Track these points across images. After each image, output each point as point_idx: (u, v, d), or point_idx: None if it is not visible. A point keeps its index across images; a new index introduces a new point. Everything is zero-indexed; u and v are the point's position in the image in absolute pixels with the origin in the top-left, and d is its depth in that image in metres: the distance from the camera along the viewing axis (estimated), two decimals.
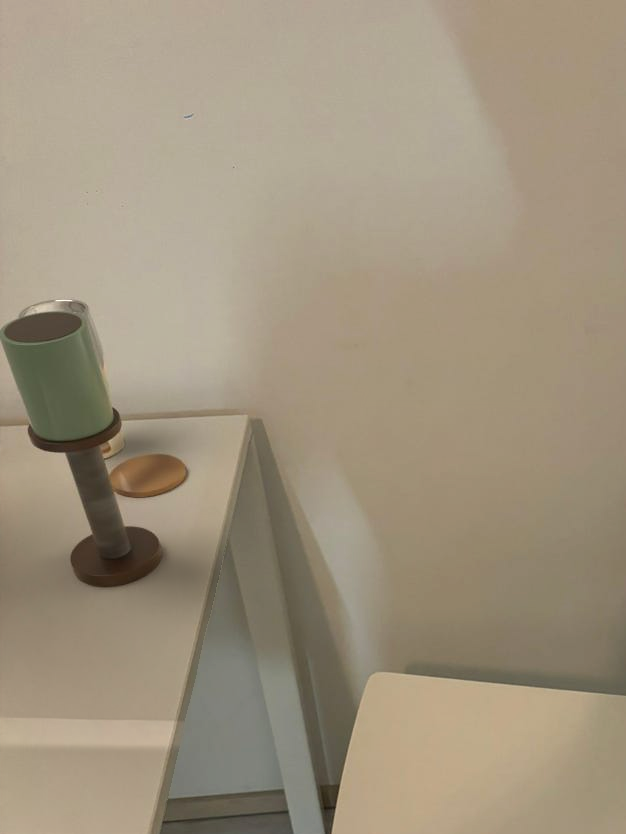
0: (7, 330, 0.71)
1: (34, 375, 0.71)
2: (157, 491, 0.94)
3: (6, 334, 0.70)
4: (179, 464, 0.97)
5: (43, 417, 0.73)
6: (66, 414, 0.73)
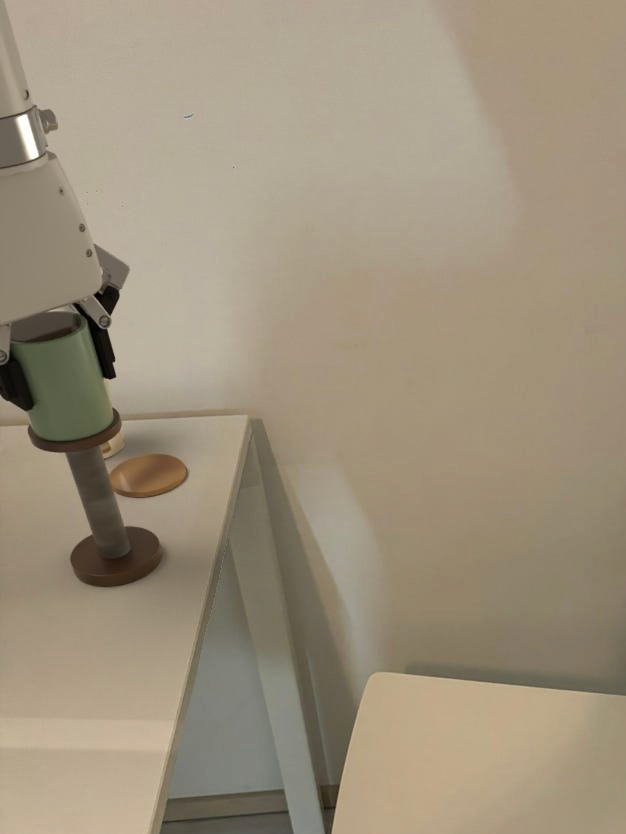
0: None
1: (34, 375, 0.71)
2: (157, 491, 0.94)
3: None
4: (179, 464, 0.97)
5: (43, 417, 0.73)
6: (66, 414, 0.73)
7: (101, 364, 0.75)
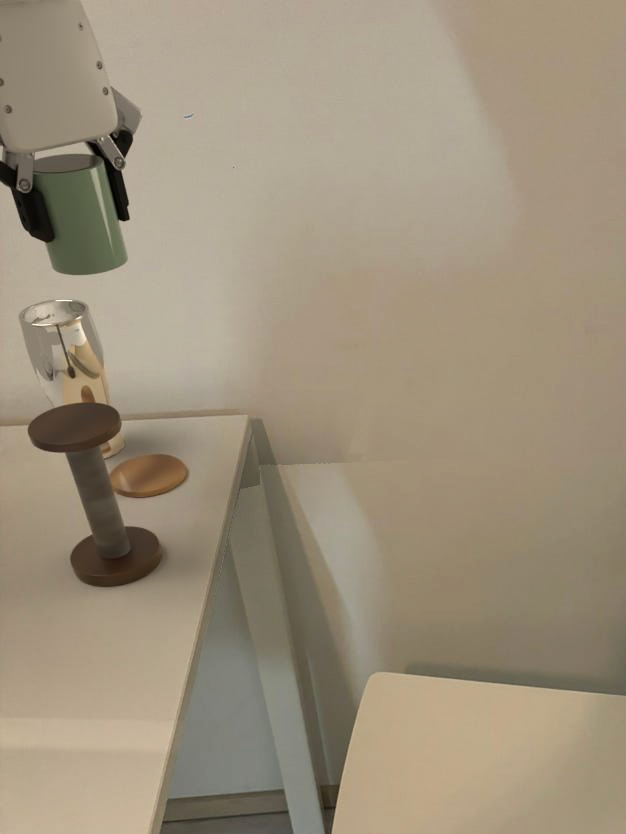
0: None
1: (55, 206, 0.76)
2: (157, 491, 0.94)
3: None
4: (179, 464, 0.97)
5: (63, 250, 0.79)
6: (84, 247, 0.79)
7: (116, 205, 0.81)
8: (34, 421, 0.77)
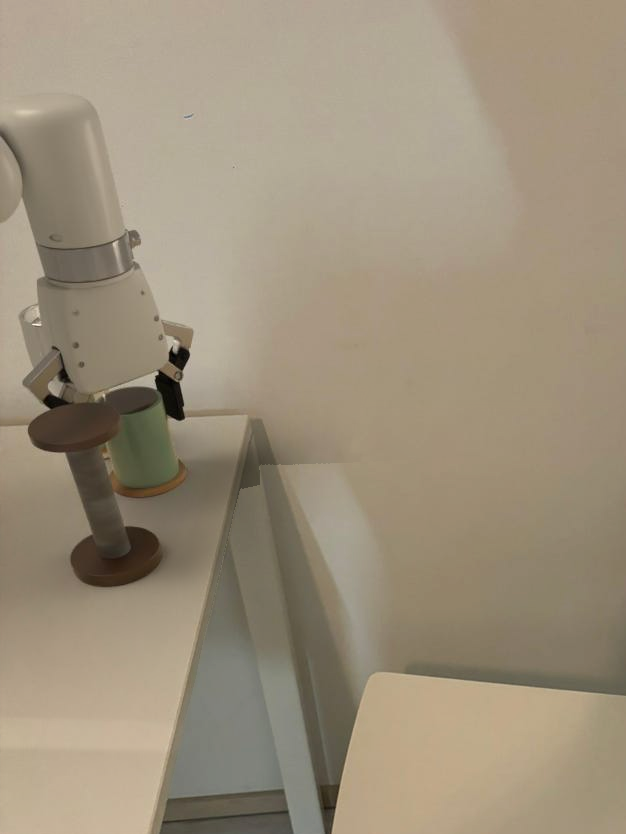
0: None
1: (122, 439, 0.90)
2: (157, 491, 0.94)
3: None
4: (179, 464, 0.97)
5: (127, 470, 0.93)
6: (144, 468, 0.93)
7: (173, 409, 0.94)
8: (34, 421, 0.77)
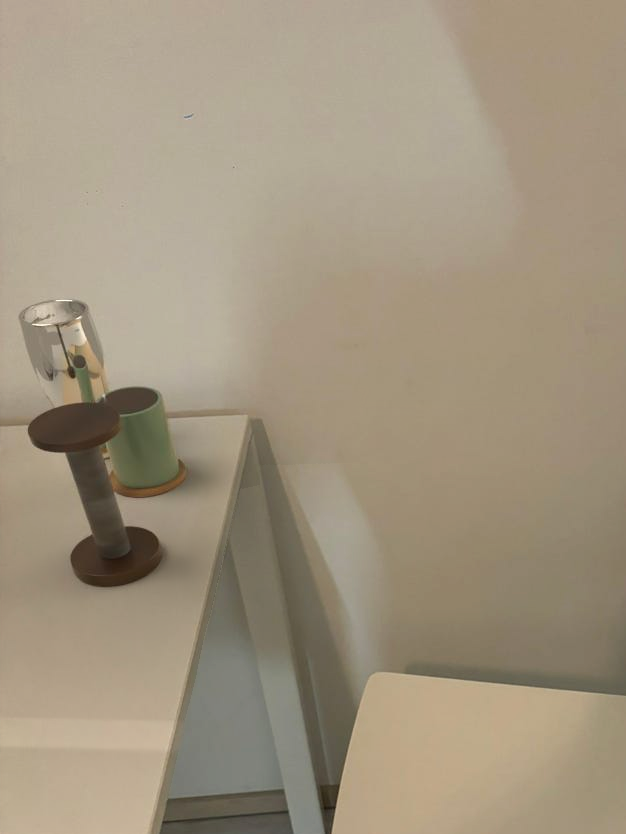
0: None
1: (122, 439, 0.90)
2: (157, 491, 0.94)
3: None
4: (179, 464, 0.97)
5: (127, 470, 0.93)
6: (144, 468, 0.93)
7: None
8: (34, 421, 0.77)
